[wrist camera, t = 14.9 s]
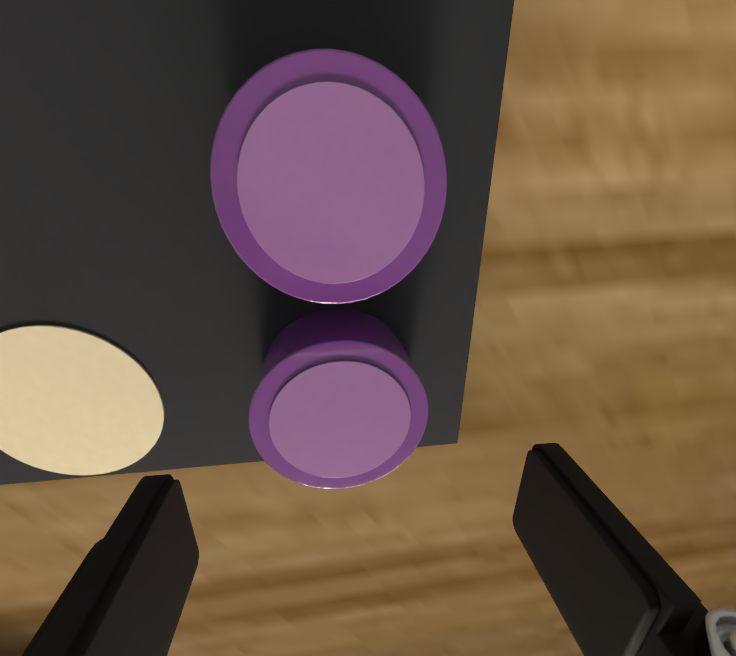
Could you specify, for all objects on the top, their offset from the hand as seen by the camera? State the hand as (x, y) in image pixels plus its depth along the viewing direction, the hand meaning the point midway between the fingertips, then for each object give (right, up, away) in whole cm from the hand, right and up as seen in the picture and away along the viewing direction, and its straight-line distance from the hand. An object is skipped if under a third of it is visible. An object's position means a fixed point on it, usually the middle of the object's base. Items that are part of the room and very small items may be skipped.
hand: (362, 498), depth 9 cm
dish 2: (-1, +2, +6) cm, 6 cm away
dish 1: (-1, +9, +3) cm, 10 cm away
